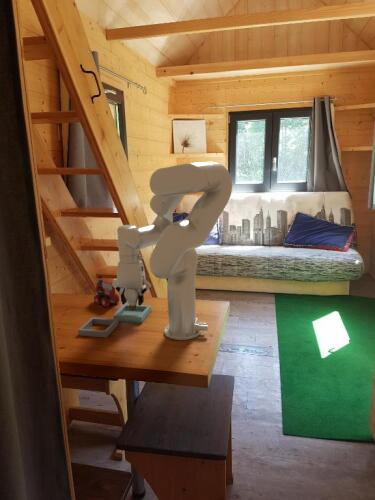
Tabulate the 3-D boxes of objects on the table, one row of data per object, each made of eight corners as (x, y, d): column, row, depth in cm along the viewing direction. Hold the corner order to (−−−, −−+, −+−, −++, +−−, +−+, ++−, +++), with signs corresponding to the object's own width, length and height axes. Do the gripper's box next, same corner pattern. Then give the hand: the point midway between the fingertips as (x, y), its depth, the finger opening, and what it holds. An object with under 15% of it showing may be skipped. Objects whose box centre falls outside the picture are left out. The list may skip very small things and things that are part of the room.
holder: (118, 324, 139) (118, 319, 138) (106, 337, 129) (106, 332, 128) (92, 322, 141) (91, 317, 141) (78, 335, 131) (78, 329, 131)
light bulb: (126, 314, 141) (124, 289, 139) (124, 309, 147) (122, 284, 144) (142, 312, 143) (140, 287, 140) (139, 307, 148) (137, 282, 146)
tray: (151, 311, 150) (151, 305, 149) (142, 323, 139) (141, 317, 138) (124, 309, 152) (124, 304, 151) (113, 321, 141) (113, 315, 141)
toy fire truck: (104, 297, 166) (102, 275, 163) (122, 304, 158) (120, 280, 155) (91, 302, 161) (89, 279, 158) (108, 309, 153) (106, 285, 150)
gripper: (154, 256, 141) (157, 301, 146) (112, 255, 145) (115, 299, 150) (148, 261, 134) (151, 308, 139) (103, 260, 138) (107, 306, 142)
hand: (132, 303), depth 144 cm, fingers closed on light bulb, 5 cm apart
